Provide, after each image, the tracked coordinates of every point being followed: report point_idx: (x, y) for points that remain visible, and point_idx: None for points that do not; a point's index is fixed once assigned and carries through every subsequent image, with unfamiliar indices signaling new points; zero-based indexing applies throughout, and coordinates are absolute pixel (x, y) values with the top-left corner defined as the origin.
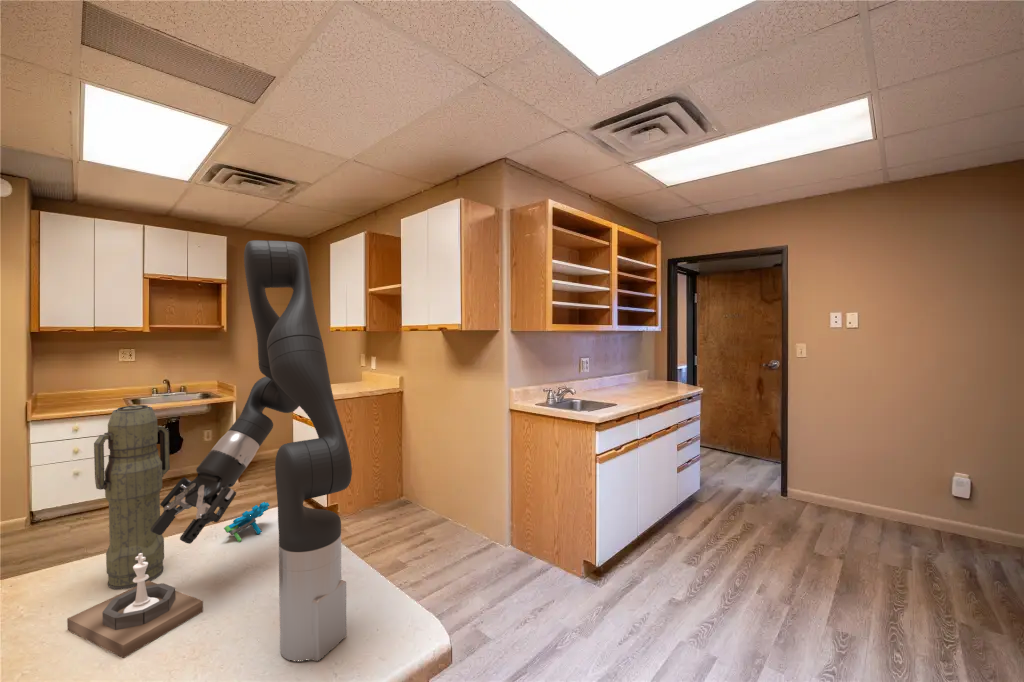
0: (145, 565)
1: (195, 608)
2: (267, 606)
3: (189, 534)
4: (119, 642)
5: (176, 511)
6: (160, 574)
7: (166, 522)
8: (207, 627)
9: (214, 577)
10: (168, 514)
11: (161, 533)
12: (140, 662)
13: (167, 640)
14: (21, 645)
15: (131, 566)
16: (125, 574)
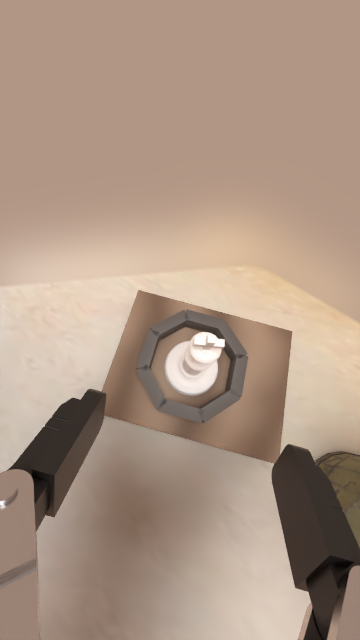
0: (190, 347)
1: None
2: None
3: (65, 409)
4: (149, 294)
5: (316, 623)
6: None
7: (293, 519)
8: (60, 372)
9: (169, 544)
10: (316, 555)
11: (273, 476)
12: (108, 294)
13: (105, 336)
14: (305, 303)
15: (346, 475)
16: (341, 462)
